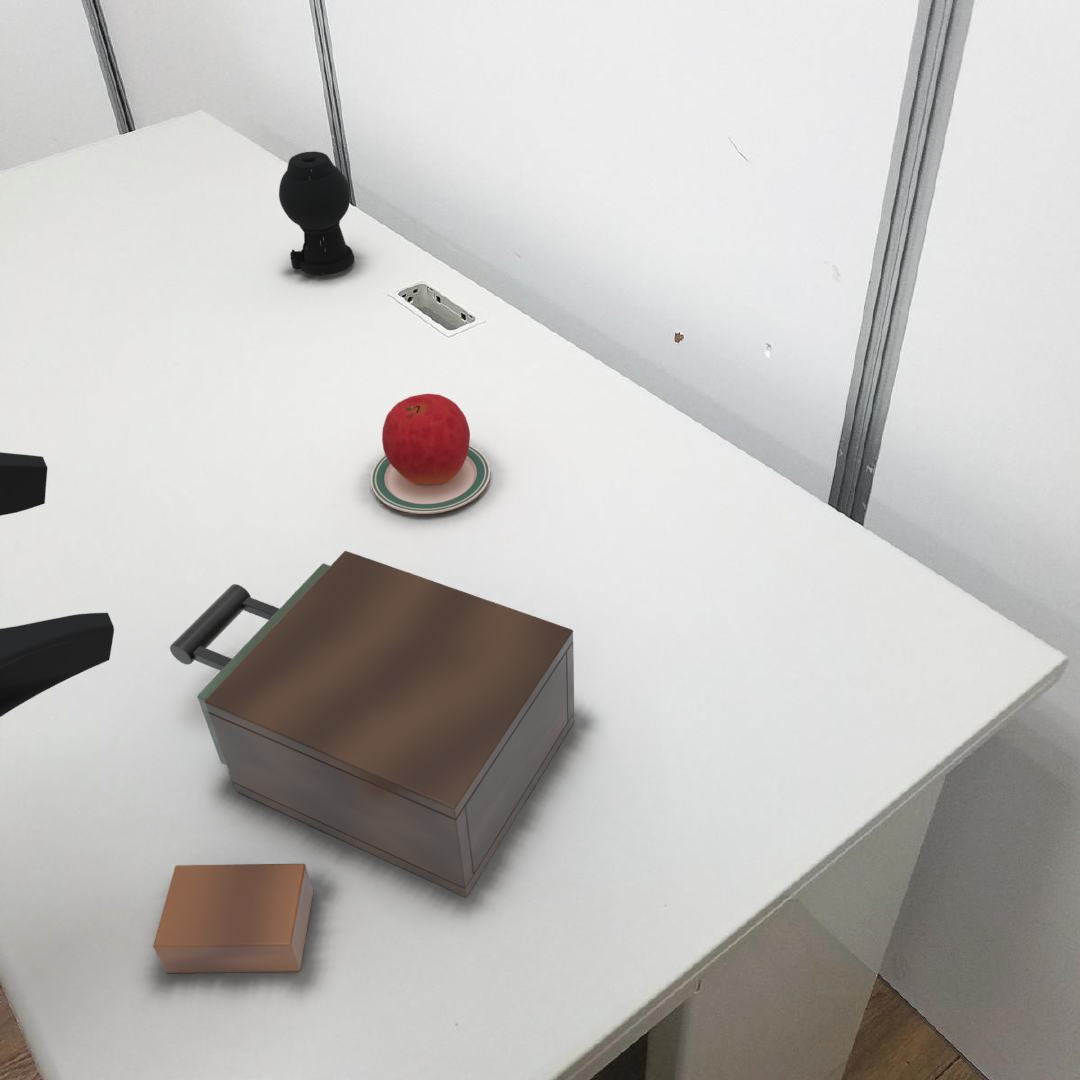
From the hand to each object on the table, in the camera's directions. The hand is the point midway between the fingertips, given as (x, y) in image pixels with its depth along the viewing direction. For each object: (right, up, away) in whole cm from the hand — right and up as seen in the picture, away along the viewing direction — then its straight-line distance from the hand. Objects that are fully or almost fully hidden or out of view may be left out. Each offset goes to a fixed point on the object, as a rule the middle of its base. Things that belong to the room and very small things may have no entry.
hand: (75, 554), depth 41 cm
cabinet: (+10, -11, +17) cm, 23 cm away
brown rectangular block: (+3, -17, +10) cm, 20 cm away
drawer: (+7, -9, +18) cm, 21 cm away
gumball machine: (-2, +25, +58) cm, 63 cm away
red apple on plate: (+10, +4, +35) cm, 36 cm away
